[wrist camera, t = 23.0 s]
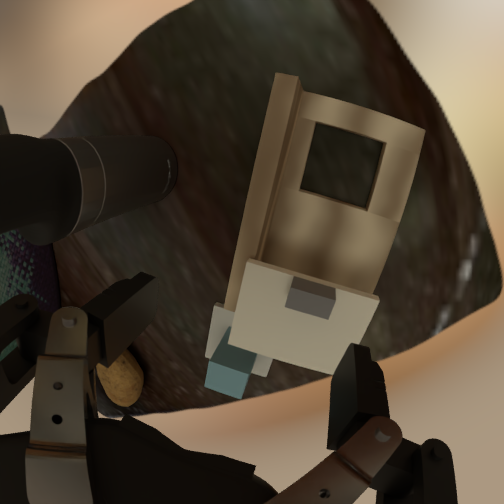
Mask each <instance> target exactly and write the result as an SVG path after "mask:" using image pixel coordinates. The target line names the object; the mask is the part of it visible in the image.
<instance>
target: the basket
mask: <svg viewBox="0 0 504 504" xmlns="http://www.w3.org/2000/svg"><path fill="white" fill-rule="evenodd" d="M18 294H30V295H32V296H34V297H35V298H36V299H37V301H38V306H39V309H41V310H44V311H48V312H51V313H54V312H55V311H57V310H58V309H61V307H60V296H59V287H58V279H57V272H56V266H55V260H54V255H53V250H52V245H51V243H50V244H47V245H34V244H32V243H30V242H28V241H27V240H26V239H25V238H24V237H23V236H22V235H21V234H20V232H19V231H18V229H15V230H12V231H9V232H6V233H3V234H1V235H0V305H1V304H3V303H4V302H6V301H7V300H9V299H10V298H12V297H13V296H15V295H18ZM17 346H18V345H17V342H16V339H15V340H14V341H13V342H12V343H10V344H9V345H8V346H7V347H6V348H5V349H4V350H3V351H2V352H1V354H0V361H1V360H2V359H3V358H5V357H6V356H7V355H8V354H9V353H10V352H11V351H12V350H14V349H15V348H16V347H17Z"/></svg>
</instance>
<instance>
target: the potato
mask: <svg viewBox="0 0 504 504" xmlns="http://www.w3.org/2000/svg"><path fill="white" fill-rule="evenodd" d="M96 368H97V373H98V376H99V379H100V381H101V383H102V385H103V387H104V389H105V392H106V394H107V395H108V397H109V398H110V399H111V400H112V401H113V402H115V403H116V404H118V405H120V406H130V405H132V404H133V403H134V402H136V401H137V399H138V398H139V396H140V394H141V391H142V386H143V380H144V377H143V371H142V369H141V368H140V366H139V364H138V363H137V361H136V359H135V357H134V356H133V355H132V354H131V353H130V352H129V351H128V350H127V349H126V350H125V351H124V352H123V353H122V354H121V355H120V356H119V357H118V358H117V359H116V360H115V361H114V363H113V364H112V365H111V366H110V367H109V368H107V367H105V366H103V365H101V364H100V363H98V364H97V365H96Z"/></svg>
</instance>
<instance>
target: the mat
mask: <svg viewBox="0 0 504 504" xmlns="http://www.w3.org/2000/svg"><path fill="white" fill-rule="evenodd" d="M234 314H235V312H232V311H229V310H226V309H224V304H221V303H218V302H216V303H215V305H214V309H213V314H212V320H211V326H210V331H209V337H208V343H207V348H206V354H205V357H207V358H210V359H211V357H212V355H213V353H214V352H215V350H216V348H217V346H218V345H219V343H220V341H221V339H222V338H223V336H224V334H225V332H226V330H227V329H228V327H229V326H230V327H232V323H233V319H234ZM272 360H273V358H270V357H267V356H264V355H261V354H257V357H256V361H255V363H254V366H253V369H252V372H251V373H254V374H257V375H260V376H263V377H266V376H267V374H268V371H269V368H270V365H271V363H272Z"/></svg>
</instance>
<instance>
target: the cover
mask: <svg viewBox="0 0 504 504" xmlns="http://www.w3.org/2000/svg"><path fill="white" fill-rule="evenodd" d="M378 303H379V297H378V296H376V295H372V294H369V293H366V292H362V291H359V290H355V289H352V288H349V287H345V286H342V285H338V284H335V283H332V282H328V281H325V280H321V279H318V278H315V277H311V276H308V275H305V274H301V273H298V272H295V271H291V270H288V269H284V268H281V267H278V266H274V265H271V264H268V263H264V262H261V261H258V260H254V259H251V258H249V259H248V260H247V262H246V267H245V271H244V275H243V280H242V284H241V288H240V293H239V297H238V301H237V306H236V310H235V314H234V319H233V323H232V328H231V332H230V336H229V341H228V344H230V345H233V346H236V347H239V348H242V349H245V350H248V351H251V352H254V353H257V354H261V355H264V356H267V357H270V358H274V359H277V360H280V361H284V362H287V363H291V364H294V365H298V366H301V367H305V368H309V369H312V370H316V371H320V372H324V373H328V374H332V375H333V374H334V372H335V370H336V368H337V366H338V364H339V362H340V361H341V359H342V357H343V355H344V353H345V351H346V350H347V348H348V346H349V344H350V343H355V344H359V343H360V341H361V339H362V337H363V335H364V333H365V331H366V329H367V327H368V325H369V323H370V321H371V319H372V316H373V314H374V312H375V310H376V308H377V306H378Z"/></svg>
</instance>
